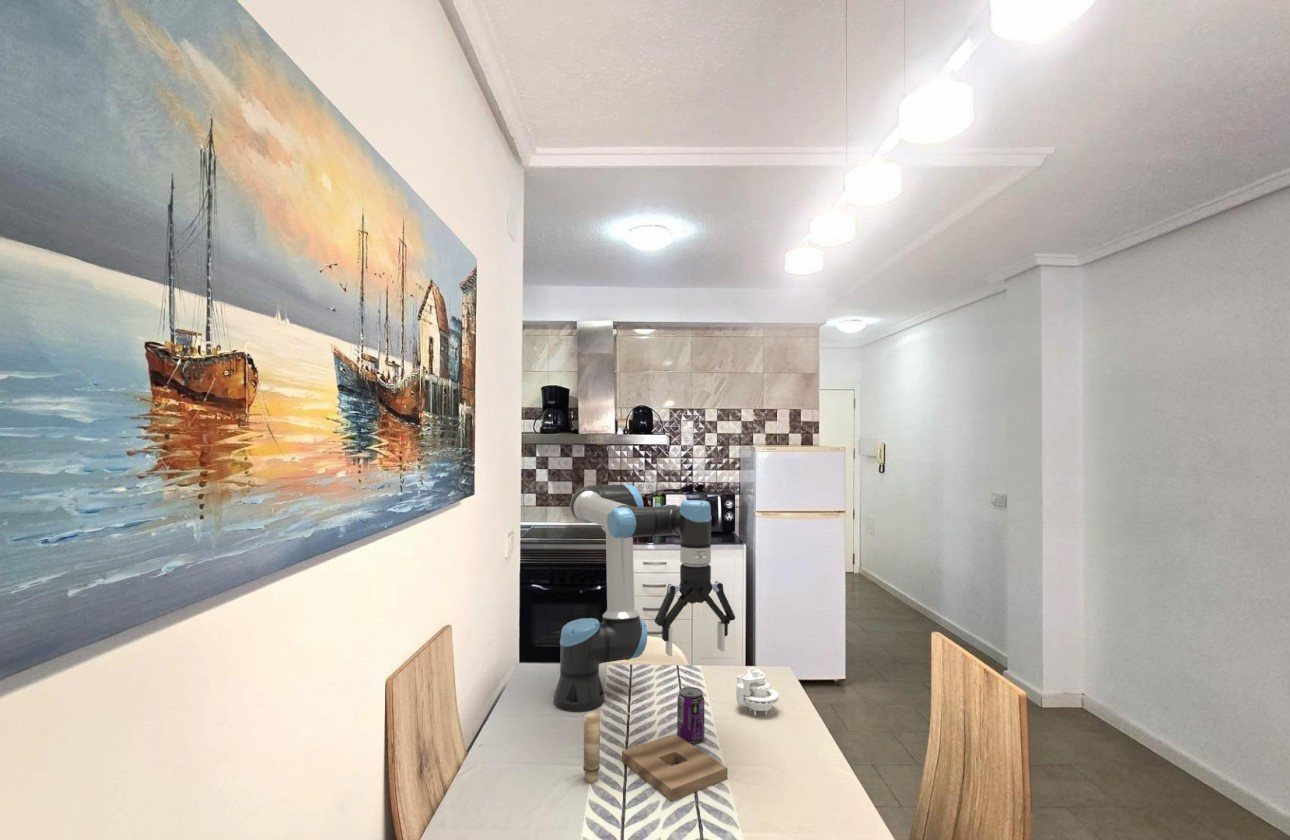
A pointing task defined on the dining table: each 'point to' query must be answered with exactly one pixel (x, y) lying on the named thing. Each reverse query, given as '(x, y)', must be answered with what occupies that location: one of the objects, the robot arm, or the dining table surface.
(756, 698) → the mechanical part
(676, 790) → the board
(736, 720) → the dining table surface
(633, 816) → the dining table surface
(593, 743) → the peg
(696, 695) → the beverage can
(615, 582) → the robot arm
